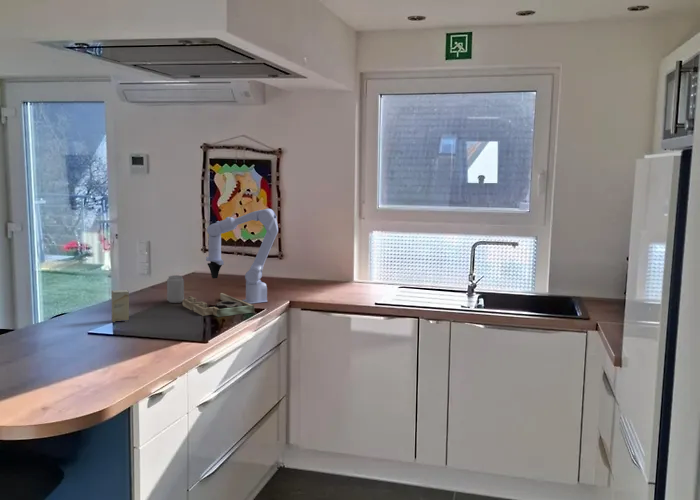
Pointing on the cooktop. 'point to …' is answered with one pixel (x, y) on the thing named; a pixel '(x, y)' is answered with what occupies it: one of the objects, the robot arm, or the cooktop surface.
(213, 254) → the robot arm
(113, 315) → the skincare box
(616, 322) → the cooktop surface
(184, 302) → the beige square zigzag bar
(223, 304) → the donut
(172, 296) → the can
